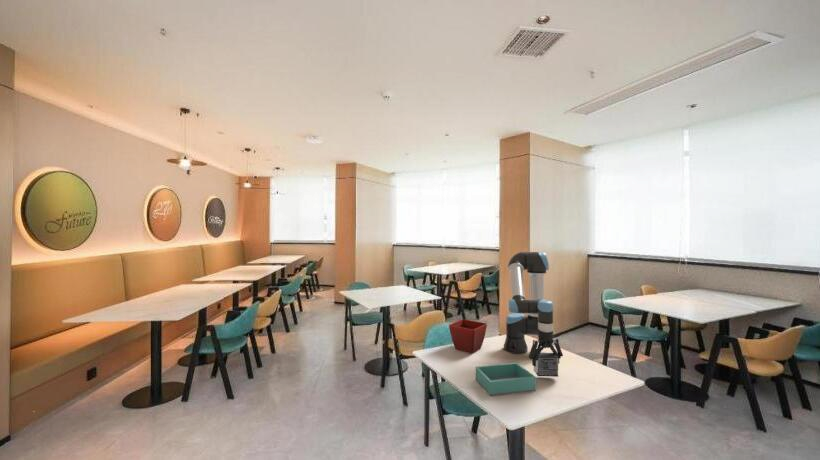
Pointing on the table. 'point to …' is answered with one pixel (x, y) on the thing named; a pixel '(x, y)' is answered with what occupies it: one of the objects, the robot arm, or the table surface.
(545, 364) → the small box
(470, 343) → the plant pot
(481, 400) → the table surface
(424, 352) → the table surface
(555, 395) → the table surface
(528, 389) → the bin
